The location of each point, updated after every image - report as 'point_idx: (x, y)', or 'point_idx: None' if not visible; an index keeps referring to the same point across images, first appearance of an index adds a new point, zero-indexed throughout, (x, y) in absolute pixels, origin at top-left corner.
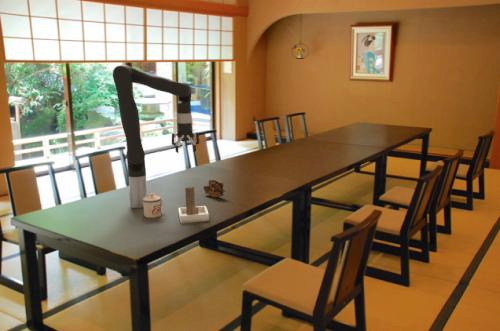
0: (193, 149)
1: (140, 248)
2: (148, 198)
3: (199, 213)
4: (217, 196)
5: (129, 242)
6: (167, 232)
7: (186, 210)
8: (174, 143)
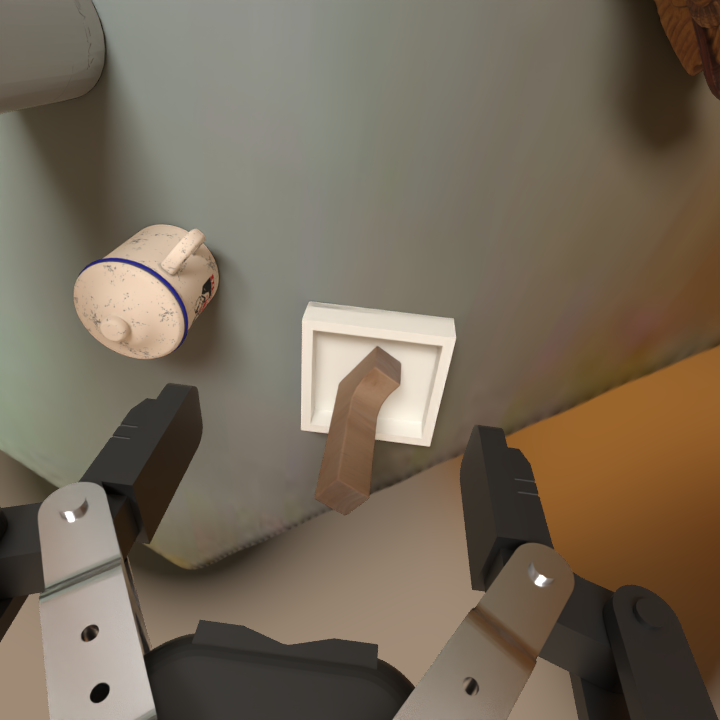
0: (464, 516)
1: (184, 531)
2: (110, 342)
3: (408, 356)
4: (668, 38)
5: None
6: (256, 467)
7: (334, 404)
8: (30, 584)
